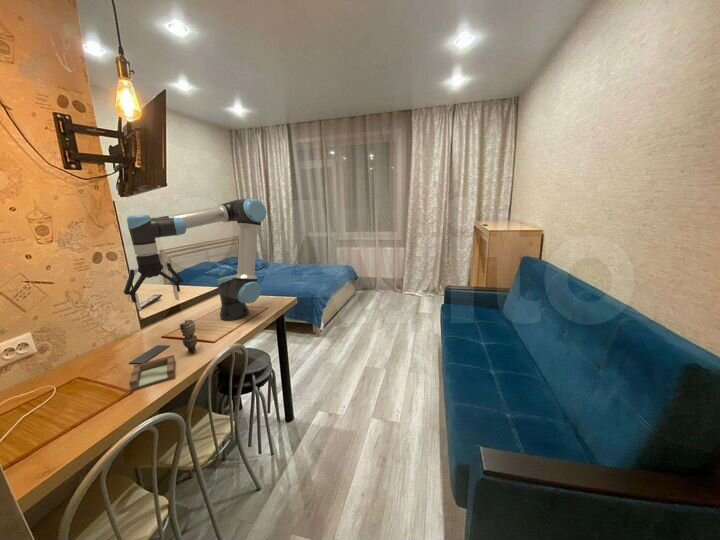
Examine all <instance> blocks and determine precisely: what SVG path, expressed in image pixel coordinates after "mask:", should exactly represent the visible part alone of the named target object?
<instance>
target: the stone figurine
mask: <svg viewBox="0 0 720 540" xmlns="http://www.w3.org/2000/svg"><path fill="white" fill-rule="evenodd" d="M179 327H180V328H179V329H180V330H181V333H180V334H181V335H182V337H183V338H182V343H183V346H184V347H185V348H187V351H188V354H189V353H190V354H194V353H195V352H197V351H196V346H197V344H198V337H197V335H195V332H196V322H195V321H194V320H193V319H186V320H185V321H184V322H182V323H180V324H179Z"/></svg>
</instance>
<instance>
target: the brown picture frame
mask: <svg viewBox="0 0 720 540" xmlns="http://www.w3.org/2000/svg"><path fill="white" fill-rule="evenodd" d="M176 364H177V363H176V358H175V355H174V354H172V355H167V356H165V357H161V358H157V359H153V360H149V361H148V362H145V363H142V364H133V368H132V371H131V374H130V375H131V376H130V379H129V382H128V383H129V386H130V391H131V392H136V391H139V390H142V389H144V388H147V387H152V386H154V385H158V384H161V383H165V382H168V381H170V380H174V379H176Z"/></svg>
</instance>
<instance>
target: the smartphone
mask: <svg viewBox="0 0 720 540" xmlns="http://www.w3.org/2000/svg"><path fill="white" fill-rule="evenodd" d="M170 347H171V345H162V344H160V345H158V344H157V345H155V346H153V347H152V348H150V349H149V350H147V351H145V352H143V353H142V354H141V355H139V356H137V357H135V358H134V359H133V360H131V361H129V362H128V365H138V364H142V363H145V362H149V361H152V359H153V358H155V357H157V356H158V355H160V354H161V353H162V352H164V351H166V350H167V349H168V348H170Z"/></svg>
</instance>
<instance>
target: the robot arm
mask: <svg viewBox="0 0 720 540" xmlns="http://www.w3.org/2000/svg"><path fill="white" fill-rule="evenodd" d="M266 217H267V209H266V206H265V204H264V203H263V202H262V201H260V200H259V199H257V198H242V199H235V200H232V201H228V202H224V203H219V204H217V206H213V207H208V208H203V209H198V210H197V209H196V210H191V211H187V212H181V213H180V212H179V213H175V214H169V215H164V216H158V217H157V216H156V217H151V216H150V215H149V214H138V215H137V214H136V215H129V216H127V218H126V222H127V223H126V224H127V228H128V231H129V235H130V239H131V242H132V246H133V247H132V248H133V251H134V255H136V257H135V259H136V262H137V268H135V269H133V268H129V269H128V274H129V276H128V278H127V280H126V284H125V286H124V290H123V294H124V295H126V296H127V295H128V296H130V298H131V302H132V303H134V304H135V305H136V308H137V310H139V311H142V307H141V302H140V299H139V295H138V293H137V292H138V290H139V289H140V287H141V285H142V284H143V282H144V281H145V280H146V278H147V279H150V278H153V277H158V276H159V275H160V276H162V277H163V278H165V279H167V280H168V281H169V282H172V283H173V284H172V290H173V294H174V299H175V300H176V301H179V300H180V296H179V292H180V291H181V288H180V284H181V283H183V282H184V280H183V278H181V277H180V275H179V274H178V273H177V272H176V271H175V270H174V268H172V265H171V263H170V262H165V263H163V264H162V262H161V257H160V254H159V253H158V252H159V249H158V246H157V245H158V244H157V240H156V239H159V238H165V237H173V236H174V237H175V236H180V235H181V236H182V235H185V234H186V232H187V229H191V228H196V227H201V226H207V225H210V224H214V223H215V224H216V223H220V222H222V223H228V222H236V224H237V226H239V239H238V253H237V254H238V256H237V257H238V258H237V270H236V271H237V273H236V274H231V275H227V276H222V277H219V278H218V279H217V287H218V293H219V297H220V303H221V305H220V312H219V317H220V320H222V321H226V322H227V321H236V320H241V319H242V318H245V317H246V316H249V314H250V310H249V309H250V308H249V307H248V306H247V304H252V303H255V302H256V301H257V300H258V299H259V298H260V296H261V292H262V288H261V287H262V286H261V285H260V284H259V283H258V277H257V276H256V273H255V272H256V259H257V258H256V257H257V247H258V246H257V243H258V229H260V228H261V227H262V222H263V221H264V220H265V219H266ZM164 268H165V269H166V270H168V271H169V272H170V274H172V276H173V277H175V279H174V278H172V277H171V276H170V275H167V274H166V273H165V272H163V269H164ZM138 273H140V275H139V278H138V279H137V281H136V282H135V283H134V285H133V282H134V279H135V276H136V275H137V274H138ZM132 285H133V287H132Z"/></svg>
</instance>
